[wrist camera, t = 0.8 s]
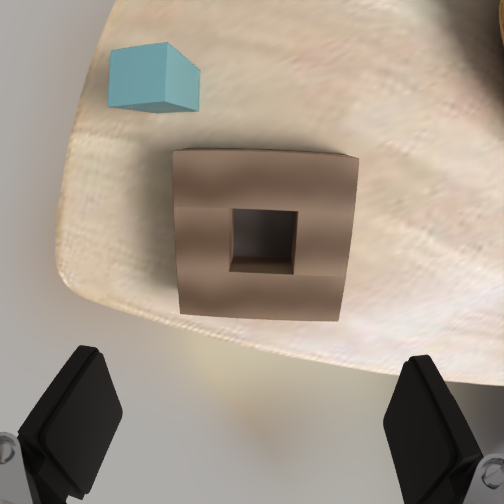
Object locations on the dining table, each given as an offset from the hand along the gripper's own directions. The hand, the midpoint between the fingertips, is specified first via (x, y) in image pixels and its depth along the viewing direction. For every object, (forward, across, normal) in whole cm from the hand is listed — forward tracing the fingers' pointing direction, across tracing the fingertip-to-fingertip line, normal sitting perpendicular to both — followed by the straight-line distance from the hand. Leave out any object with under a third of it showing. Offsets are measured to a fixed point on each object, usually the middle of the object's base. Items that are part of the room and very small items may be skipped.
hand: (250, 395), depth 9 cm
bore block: (+26, 0, +2) cm, 26 cm away
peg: (+26, +9, -12) cm, 30 cm away
